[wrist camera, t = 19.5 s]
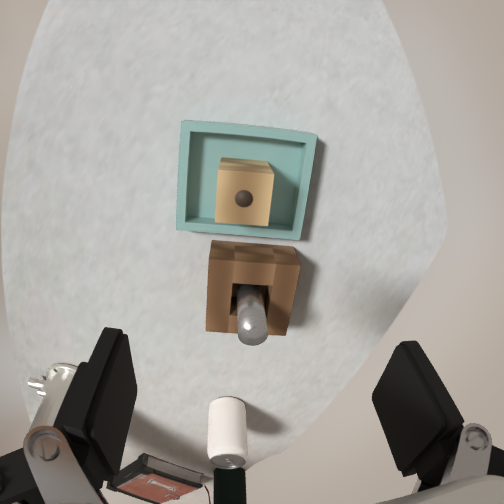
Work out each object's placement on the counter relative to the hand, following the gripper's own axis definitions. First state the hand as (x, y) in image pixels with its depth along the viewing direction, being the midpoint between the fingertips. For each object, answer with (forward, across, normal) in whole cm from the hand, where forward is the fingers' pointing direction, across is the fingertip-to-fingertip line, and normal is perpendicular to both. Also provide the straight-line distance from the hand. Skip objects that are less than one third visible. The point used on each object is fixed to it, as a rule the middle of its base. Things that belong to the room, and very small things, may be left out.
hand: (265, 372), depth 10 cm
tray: (+28, 0, 0) cm, 28 cm away
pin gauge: (+27, -2, +13) cm, 30 cm away
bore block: (+28, -2, +13) cm, 31 cm away
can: (+28, -1, +40) cm, 49 cm away
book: (+29, +17, +79) cm, 86 cm away
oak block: (+28, 0, 0) cm, 28 cm away
